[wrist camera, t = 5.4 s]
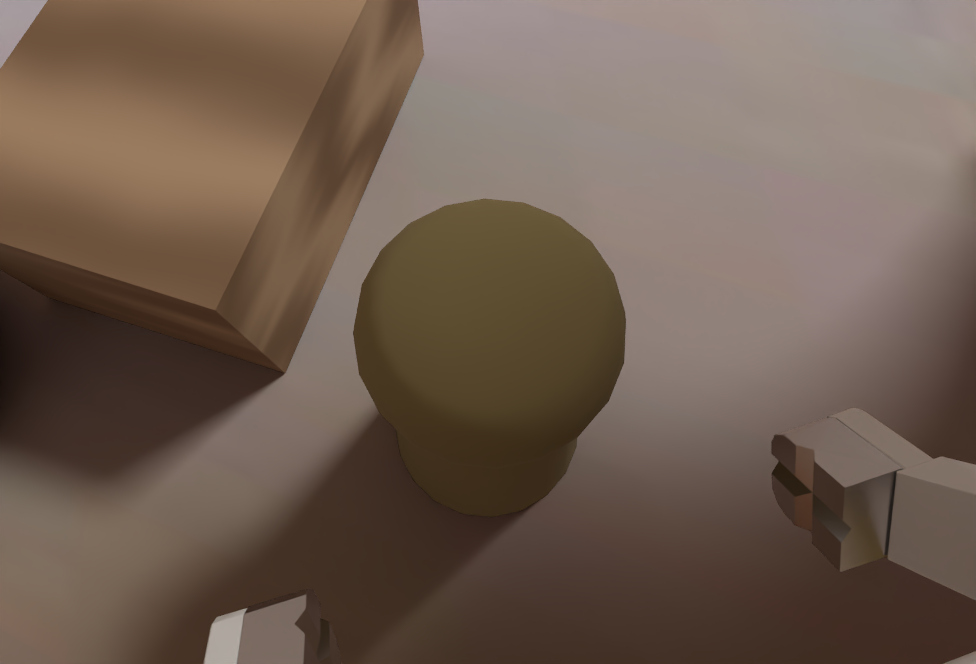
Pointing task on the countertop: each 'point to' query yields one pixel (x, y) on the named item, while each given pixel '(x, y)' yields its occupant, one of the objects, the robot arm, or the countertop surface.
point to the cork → (489, 349)
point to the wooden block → (197, 157)
